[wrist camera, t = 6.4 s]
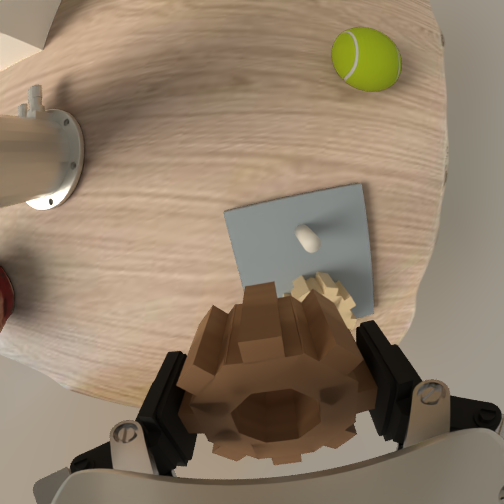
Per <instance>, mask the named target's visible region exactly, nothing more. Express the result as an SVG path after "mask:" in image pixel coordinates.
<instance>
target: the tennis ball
mask: <svg viewBox="0 0 504 504" xmlns="http://www.w3.org/2000/svg"><path fill="white" fill-rule="evenodd" d="M332 62H333V65H334V68H335V70H336V71H337V73H338V74H339V76H340V77H341V78H342V79H343V80H344V81H345V82H346V83H347V84H349V85H351V86H352V87H354V88H357V89H360V90H363V91H370V92H373V91H381V90H384V89H387V88H389V87H390V86H392V85H393V84H394V83H395V82H396V81H397V79H398V78H399V76H400V73H401V69H402V60H401V56H400V53H399V50H398V48H397V47H396V45H395V44H394V43H393V41H392V40H391V39H390V38H389V37H387V36H386V35H385V34H383V33H381V32H379V31H377V30H375V29H371V28H366V27H356V28H351V29H348V30H346V31H344V32H343V33H341V34H340V35H339V36H338V37H337V38H336V40H335V42H334V44H333V47H332Z"/></svg>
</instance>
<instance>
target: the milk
mask: <svg viewBox="0 0 504 504" xmlns="http://www.w3.org/2000/svg"><path fill="white" fill-rule="evenodd" d="M60 3H61V0H0V72H1V71H3V70H5V69H6V68H8V67H10V66H12V65H14V64H16V63H18V62H19V61H21V60H23V59H25V58H27V57H29V56H32V55H34V54H36V53H38V52H40V51H42V50H43V48H44V45H45V42H46V39H47V36H48V33H49V30H50V27H51V25H52V22H53V19H54V17H55V14H56V12H57V10H58V7H59V5H60Z"/></svg>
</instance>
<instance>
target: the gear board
mask: <svg viewBox="0 0 504 504" xmlns="http://www.w3.org/2000/svg"><path fill="white" fill-rule="evenodd" d="M223 213H224V217H225V221H226V225H227V229H228V233H229V237H230V240H231V244H232V248H233V252H234V256H235V260H236V263H237V267H238V271H239V275H240V279H241V282H242V286H243V290H245V286H250V285H256V284H262V283H268V282H273V281H275V287H276V293H277V298H280V297H286V296H290V295H291V296H292V297H294V298H295V299H297V300H298V301H300V302H302V301H303V300H304V299H305V297H306V296H307V295H308V294H309V292H310V291H311V290H312V289H314V290H316V291H317V292H319V293H320V294H322V295H323V296H325V297H326V298H328V299H329V300H331V301H332V302H333V303H334V304H335V306H336V308H337V309H338V311H339V313H340V315H341V317H342V319H343V321H344V322H345V324H346V326H347V328H348V329H354V326H355V323H356V321H357V318H360V317H364V316H367V315H371V314H374V298H373V278H372V264H371V252H370V242H369V233H368V224H367V216H366V209H365V202H364V196H363V189H362V184H360V183H355V184H349V185H344V186H338V187H333V188H328V189H322V190H317V191H312V192H307V193H302V194H298V195H293V196H288V197H283V198H279V199H274V200H269V201H265V202H261V203H256V204H252V205H247V206H243V207H239V208H235V209H230V210H226V211H224V212H223Z"/></svg>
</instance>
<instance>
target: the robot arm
mask: <svg viewBox="0 0 504 504" xmlns="http://www.w3.org/2000/svg"><path fill="white" fill-rule="evenodd" d="M28 102H29V110H27V104H21V105H20V106H19V107H18V116H10V115H0V208H4V207H8V206H11V205H15V204H19V203H23V202H27V204H28V205H30V206H31V207H33V208H35V209H38V210H48V209H53V208H55V207H58V206H59V205H61V204H62V203H63V202H65V201H66V200H67V198H68V197H69V196H70V195H71V193H72V192H73V190H74V189H75V187H76V185H77V182H78V180H79V178H80V174H81V171H82V167H83V161H84V139H83V135H82V131H81V128H80V126H79V124H78V122H77V121H76V119H75V118H74V117H73V116H72V115H71V114H70V113H68V112H66V111H63V110H59V109H49V110H46V111H45V106H43V105H42V86H41V85H34V86H32V87H30V88H29V90H28ZM356 345H357V347H358V349H359V351H360V353H361V354H362V356H363V358H364V360H365V362H366V364H367V366H368V368H369V370H370V372H371V374H372V376H373V379H374V381H375V383H376V385H377V387H378V389H377V396H376V403H375V409H371V410H369V412H370V414H371V417H372V420H373V422H374V425H375V427H376V430H377V433H378V435H379V436H382V435H383V436H384V439H385V441H388V440H391V439H393V441H394V442H397V443H398V444H397V449H396V451H395V452H392V453H388V454H385V455H382V456H379V457H376V458H372V459H369V460H365V461H362V462H358V463H354V464H350V465H346V466H342V467H337V468H333V469H328V470H323V471H317V472H311V473H305V474H298V475H291V476H282V477H272V478H259V479H237V480H236V479H234V480H218V479H217V480H216V479H215V480H213V479H192V478H180V477H177V476H176V474H175V471H174V469H175V468H176V466H187V463H188V460H191V459H192V456H193V451H194V447H195V442H196V437H197V433H188V431H187V429H186V428H185V426H184V424H183V423H182V421H181V419H180V417H179V416H178V412H179V409H180V406H181V403H182V400H183V396H184V393H185V390H184V389H182V388H180V387H178V386H176V385H177V382H178V379H179V377H180V374H181V371H182V369H183V366H184V363H185V361H186V358H187V355H186V354H183V353H182V352H181V351H175V352H168V354H167V356H166V358H165V360H164V362H163V364H162V366H161V368H160V370H159V372H158V374H157V377H156V379H155V381H154V382H153V383H152V385H151V387H150V390H149V392H148V394H147V396H146V398H145V400H144V402H143V405H142V407H141V409H140V411H139V414H138V416H137V418H136V420H135V421H133V420H126V421H122V422H120V423H118V424H116V425H115V426H114V427H113V428H112V430H111V432H110V441H109V442H107V443H105V444H102V445H101V446H98V447H96V448H94V449H92V450H90V451H87V452H85V453H83V454H81V455H79V456H77V457H75V458H74V459H73V461H72V463H71V465H70V469H68V468H67V467H65V468H63V469H61V470H59V471H57V472H55V473H53V474H51V475H49V476H47V477H45V478H42V479H40V480H38V481H37V482H36V483H35V484H34V487H33V493H34V496H35V499H36V502H37V504H504V414H502V413H501V411H500V409H499V408H498V406H496V405H495V404H493V403H489V402H483V401H477V400H471V399H466V398H460V397H456V396H451V395H450V391H449V388H448V386H447V385H446V384H445V383H443V382H442V381H439V380H434V379H431V380H425V381H422V380H421V378H420V377H419V375H418V374H417V372H416V371H415V369H414V368H413V366H412V365H411V363H410V362H409V361H408V359H407V358H406V356H405V355H404V354H403V352H402V351H401V349H400V348H399V347H398V345H396V344H394V345H391V344H390V343H389V341H388V340H387V338H386V337H385V335H384V334H383V332H382V331H381V330H380V328H379V327H378V325H377V324H376V323H375V321H374V320H371V321H367V322H363V323H361V324H360V327H357V328H356Z"/></svg>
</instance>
